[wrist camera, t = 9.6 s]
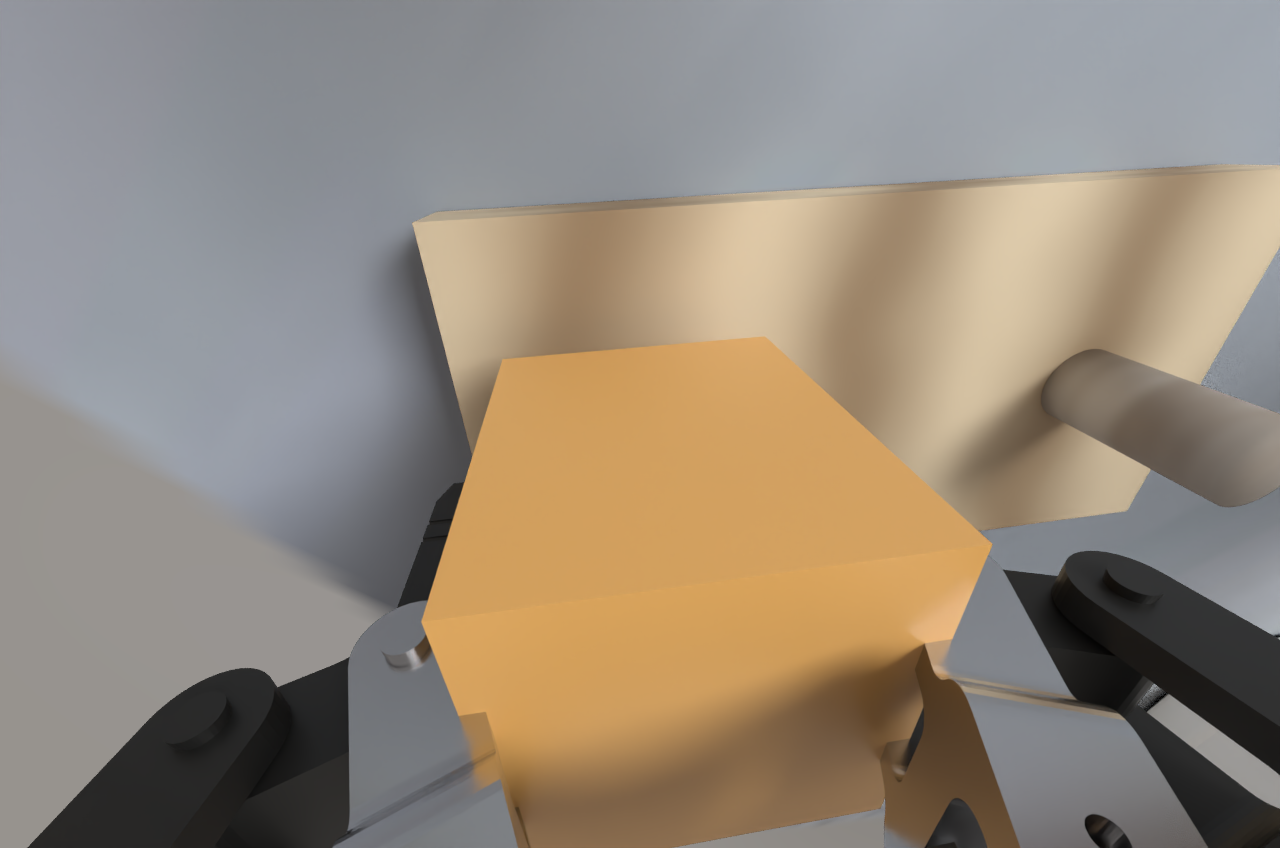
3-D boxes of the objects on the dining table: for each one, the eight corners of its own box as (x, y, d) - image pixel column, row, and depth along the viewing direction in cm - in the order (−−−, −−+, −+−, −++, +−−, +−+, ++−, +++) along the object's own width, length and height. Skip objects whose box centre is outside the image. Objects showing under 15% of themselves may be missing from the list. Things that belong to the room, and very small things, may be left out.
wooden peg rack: (1222, 164, 13) (1678, 171, 7) (1071, 475, 18) (1283, 610, 12) (436, 211, 11) (316, 264, 6) (513, 545, 16) (488, 737, 11)
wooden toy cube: (765, 336, 10) (992, 543, 5) (747, 532, 12) (880, 809, 7) (502, 359, 9) (421, 622, 4) (541, 558, 12) (522, 875, 7)
